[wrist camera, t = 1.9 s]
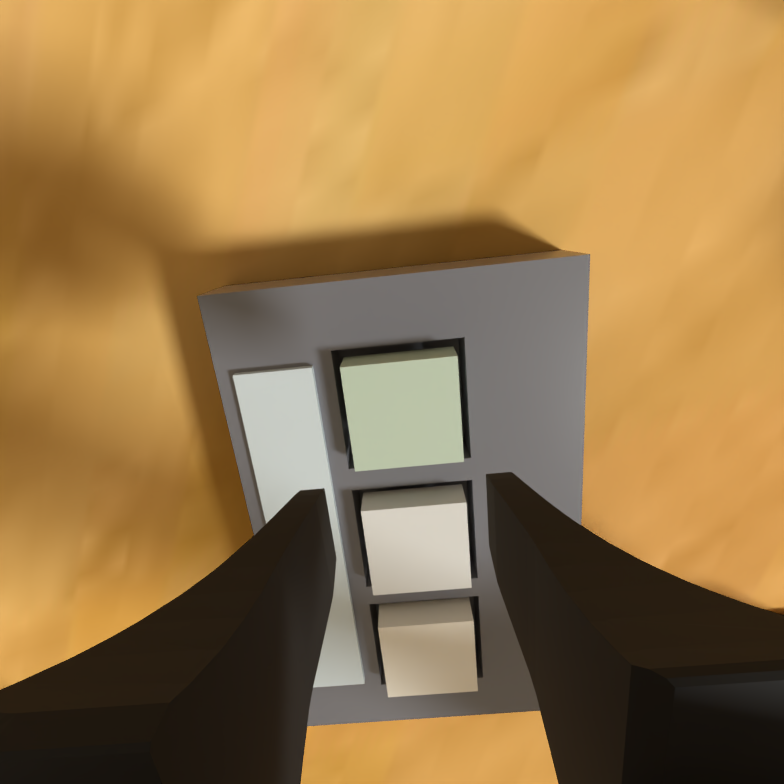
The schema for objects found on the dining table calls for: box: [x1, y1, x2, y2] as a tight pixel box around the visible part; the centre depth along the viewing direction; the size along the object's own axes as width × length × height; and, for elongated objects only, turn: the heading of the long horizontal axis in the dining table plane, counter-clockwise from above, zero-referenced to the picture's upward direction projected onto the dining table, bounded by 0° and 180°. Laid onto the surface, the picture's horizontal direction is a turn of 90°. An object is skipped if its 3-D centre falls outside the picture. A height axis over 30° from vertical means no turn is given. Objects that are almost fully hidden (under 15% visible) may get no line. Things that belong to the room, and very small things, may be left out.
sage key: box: [340, 346, 464, 471], centre depth 18 cm, size 4×4×1 cm
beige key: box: [361, 484, 472, 595], centre depth 20 cm, size 4×4×1 cm
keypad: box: [197, 250, 590, 726], centre depth 22 cm, size 14×22×3 cm, turn 6°
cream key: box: [378, 597, 478, 697], centre depth 22 cm, size 4×4×1 cm
